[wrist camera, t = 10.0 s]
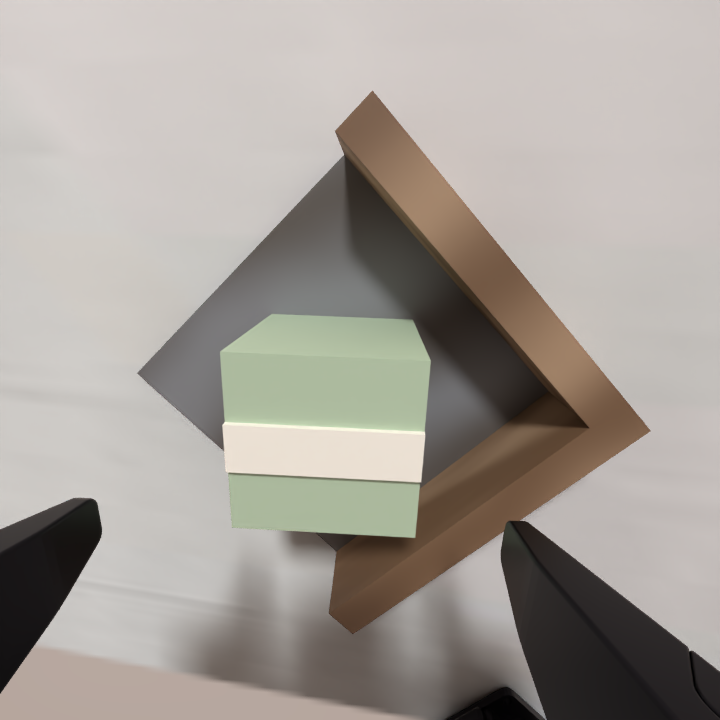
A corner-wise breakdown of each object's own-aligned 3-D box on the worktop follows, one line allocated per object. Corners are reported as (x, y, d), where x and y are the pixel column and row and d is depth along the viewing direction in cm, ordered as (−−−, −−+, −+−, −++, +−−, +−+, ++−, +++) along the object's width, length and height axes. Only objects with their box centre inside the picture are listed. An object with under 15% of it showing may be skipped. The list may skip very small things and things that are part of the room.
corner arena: (593, 390, 18) (650, 431, 14) (357, 563, 21) (352, 634, 18) (373, 126, 16) (372, 90, 12) (141, 370, 19) (81, 404, 15)
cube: (412, 319, 17) (431, 362, 11) (403, 446, 19) (415, 542, 13) (271, 314, 17) (217, 353, 11) (275, 440, 19) (229, 531, 13)
